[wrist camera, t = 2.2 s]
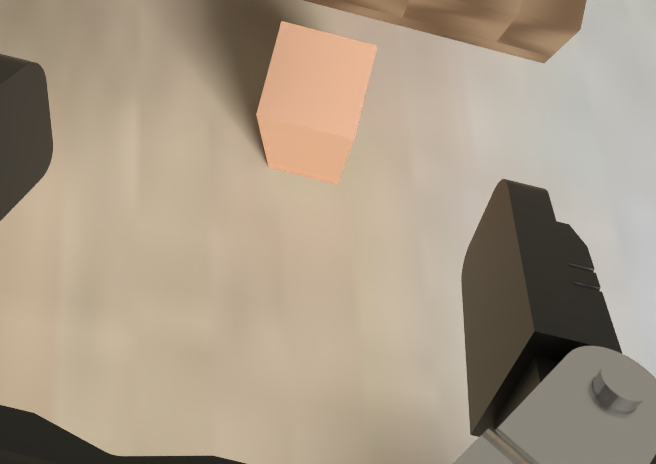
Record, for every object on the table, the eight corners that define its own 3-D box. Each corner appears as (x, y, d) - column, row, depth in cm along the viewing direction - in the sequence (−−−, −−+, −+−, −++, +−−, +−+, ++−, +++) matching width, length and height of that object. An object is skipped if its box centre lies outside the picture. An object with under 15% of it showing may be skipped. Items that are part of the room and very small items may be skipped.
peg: (268, 167, 34) (256, 114, 24) (286, 100, 34) (281, 20, 24) (337, 184, 34) (354, 139, 24) (354, 117, 34) (377, 45, 24)
